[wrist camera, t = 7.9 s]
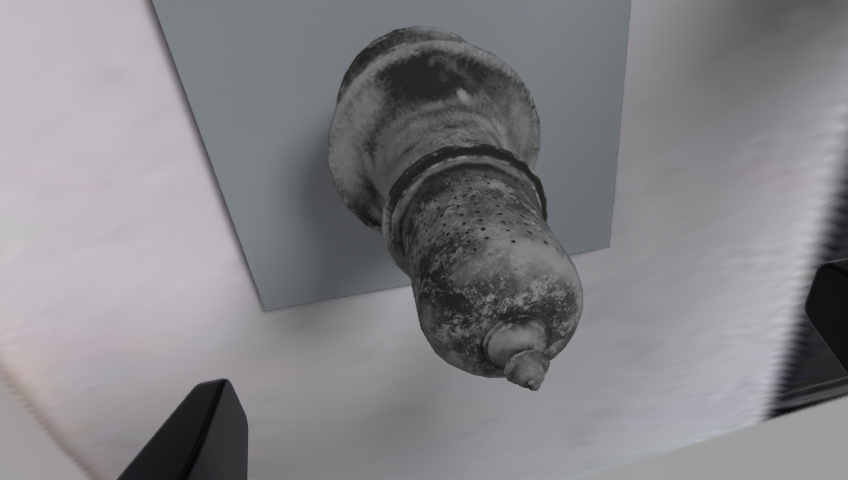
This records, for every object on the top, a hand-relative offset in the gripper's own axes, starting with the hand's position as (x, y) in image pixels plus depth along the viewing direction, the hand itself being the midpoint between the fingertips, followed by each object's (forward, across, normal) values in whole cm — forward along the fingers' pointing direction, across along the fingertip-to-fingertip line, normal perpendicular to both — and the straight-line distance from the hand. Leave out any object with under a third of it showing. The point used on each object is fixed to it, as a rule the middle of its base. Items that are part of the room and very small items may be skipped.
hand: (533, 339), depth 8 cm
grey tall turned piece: (+12, 0, 0) cm, 12 cm away
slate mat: (+12, 0, 0) cm, 12 cm away
